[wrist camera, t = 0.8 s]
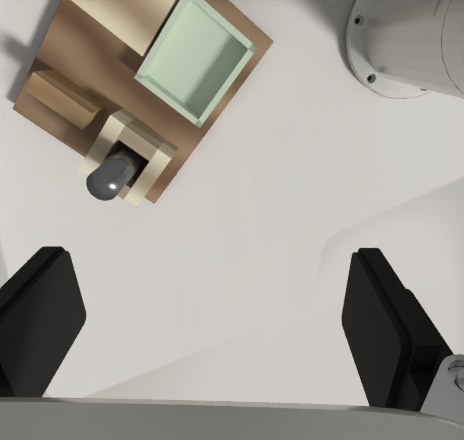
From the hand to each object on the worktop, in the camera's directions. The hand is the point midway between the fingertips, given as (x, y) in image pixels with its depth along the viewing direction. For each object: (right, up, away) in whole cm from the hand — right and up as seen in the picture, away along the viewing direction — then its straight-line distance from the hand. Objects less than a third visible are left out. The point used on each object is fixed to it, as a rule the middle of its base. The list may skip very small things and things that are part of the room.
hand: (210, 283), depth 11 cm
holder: (-10, +10, +27) cm, 31 cm away
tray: (-3, +18, +23) cm, 29 cm away
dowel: (-10, +10, +27) cm, 31 cm away
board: (-9, +17, +25) cm, 32 cm away
